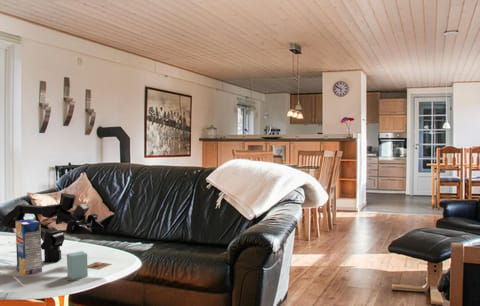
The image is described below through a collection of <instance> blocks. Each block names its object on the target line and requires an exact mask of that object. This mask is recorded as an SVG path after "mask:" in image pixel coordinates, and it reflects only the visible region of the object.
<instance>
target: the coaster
mask: <svg viewBox="0 0 480 306" xmlns="http://www.w3.org/2000/svg"><path fill="white" fill-rule="evenodd" d="M111 265H113V263H107V262H101V266H98V267H95V266H94V262H93V263H90V264H87V267H88V269H92V270H101V269H104V268H106V267H109V266H111Z"/></svg>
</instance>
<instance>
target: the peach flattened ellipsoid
mask: <svg viewBox="0 0 480 306" xmlns="http://www.w3.org/2000/svg"><path fill="white" fill-rule="evenodd" d="M93 263H94V266H95V267H98V266H101V263H102V262H101V261H94V262H93Z"/></svg>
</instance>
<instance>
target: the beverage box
mask: <svg viewBox="0 0 480 306" xmlns="http://www.w3.org/2000/svg"><path fill="white" fill-rule="evenodd" d="M15 222H16V229H15V245H16V269H17V270H16V271H17V272H18V273H20V274H23V275H24V276H29V275H33V274H39V273H43V258H42V256H43V255H42V248H41V244H42V239H41V226H42V225H41V221H38V220H36V219H33V218H28V219H24V220H20V221H15Z"/></svg>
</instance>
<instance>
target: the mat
mask: <svg viewBox="0 0 480 306" xmlns="http://www.w3.org/2000/svg"><path fill="white" fill-rule="evenodd" d="M77 281H79V279H67V282H69V283H72V282H77Z"/></svg>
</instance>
